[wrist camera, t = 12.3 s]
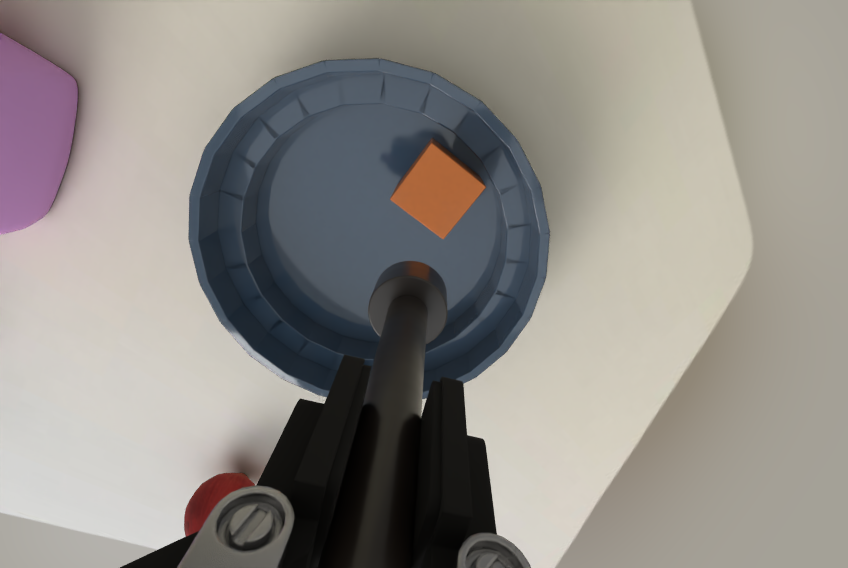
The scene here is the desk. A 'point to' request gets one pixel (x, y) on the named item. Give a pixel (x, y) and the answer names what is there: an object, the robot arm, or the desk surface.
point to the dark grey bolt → (388, 425)
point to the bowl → (360, 220)
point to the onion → (211, 498)
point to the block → (438, 189)
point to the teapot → (32, 133)
